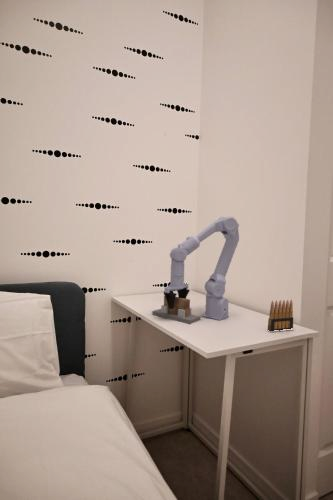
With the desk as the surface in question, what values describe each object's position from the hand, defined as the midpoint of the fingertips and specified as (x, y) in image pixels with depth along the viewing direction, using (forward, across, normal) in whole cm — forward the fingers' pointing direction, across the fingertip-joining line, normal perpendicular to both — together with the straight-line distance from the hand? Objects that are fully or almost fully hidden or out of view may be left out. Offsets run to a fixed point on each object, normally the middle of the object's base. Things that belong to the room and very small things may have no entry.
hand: (176, 307), depth 136 cm
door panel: (+3, 0, 0) cm, 3 cm away
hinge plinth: (+4, 0, 0) cm, 4 cm away
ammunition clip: (+5, -14, +40) cm, 43 cm away
